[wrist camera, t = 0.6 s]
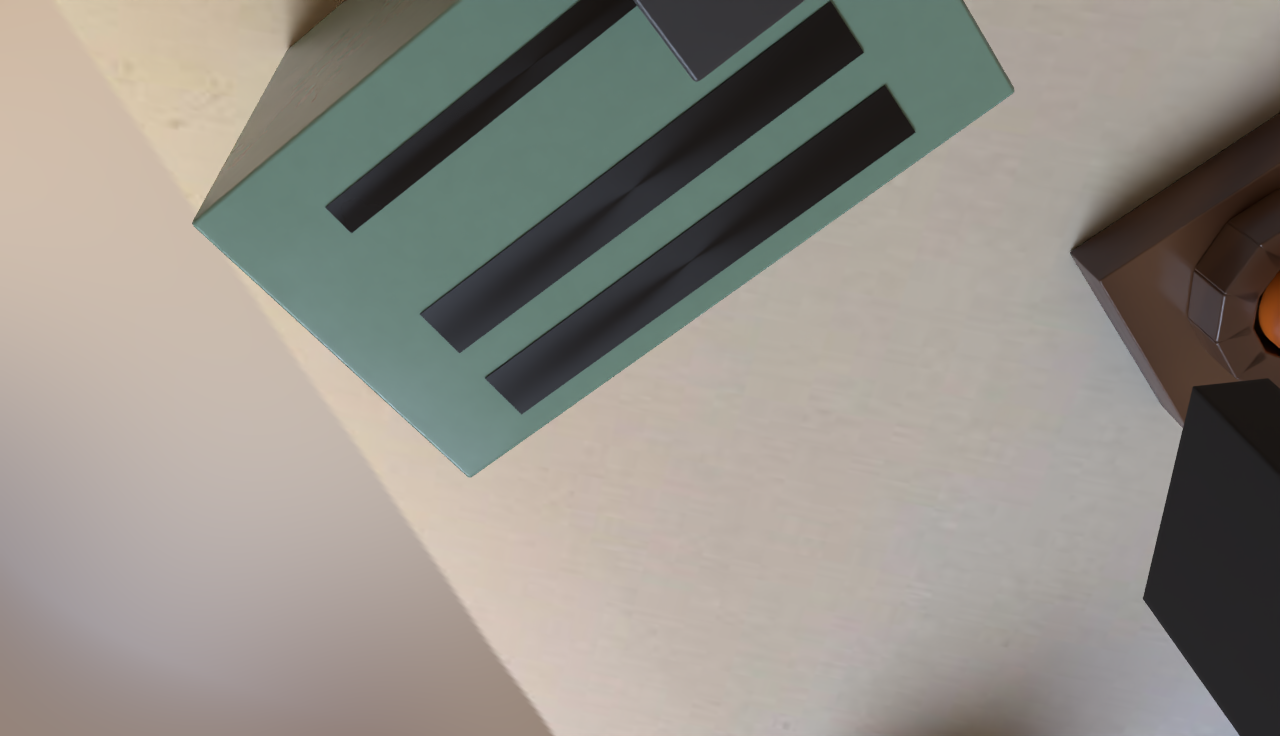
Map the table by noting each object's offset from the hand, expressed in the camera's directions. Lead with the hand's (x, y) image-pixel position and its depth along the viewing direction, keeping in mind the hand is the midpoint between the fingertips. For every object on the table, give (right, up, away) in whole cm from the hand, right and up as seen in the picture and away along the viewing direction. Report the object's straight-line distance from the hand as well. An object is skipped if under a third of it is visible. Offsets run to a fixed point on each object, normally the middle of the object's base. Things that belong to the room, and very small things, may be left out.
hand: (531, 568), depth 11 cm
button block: (+22, +6, +28) cm, 36 cm away
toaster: (-1, +12, +21) cm, 24 cm away
